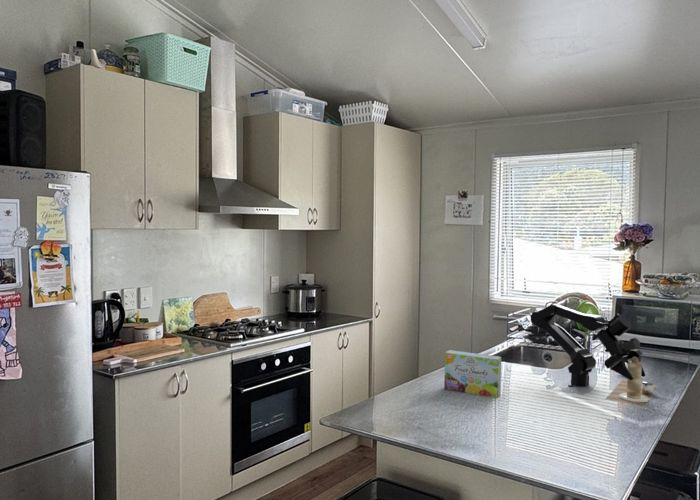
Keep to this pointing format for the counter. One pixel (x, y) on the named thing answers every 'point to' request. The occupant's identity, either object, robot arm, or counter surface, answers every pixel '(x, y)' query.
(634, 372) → the pepper mill
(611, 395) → the serving board
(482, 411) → the counter surface
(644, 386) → the spice tin
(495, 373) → the snack box
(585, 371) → the robot arm
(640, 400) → the white saucer
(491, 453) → the counter surface
